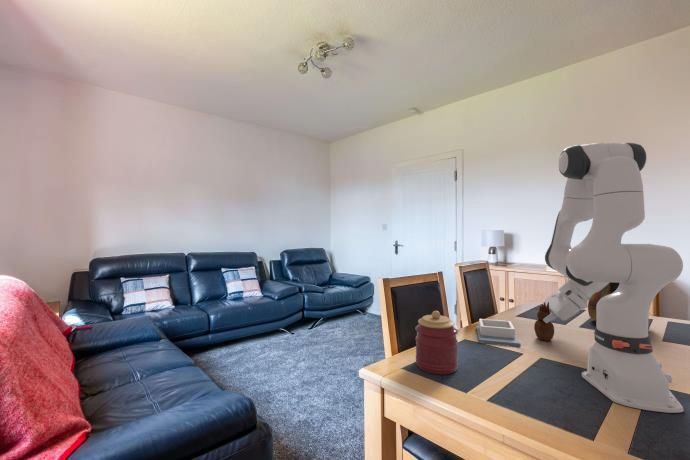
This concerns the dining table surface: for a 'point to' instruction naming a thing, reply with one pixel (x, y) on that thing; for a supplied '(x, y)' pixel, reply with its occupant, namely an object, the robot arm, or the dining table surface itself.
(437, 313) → the canister
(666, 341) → the dining table surface
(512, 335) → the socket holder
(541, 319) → the wooden figurine
